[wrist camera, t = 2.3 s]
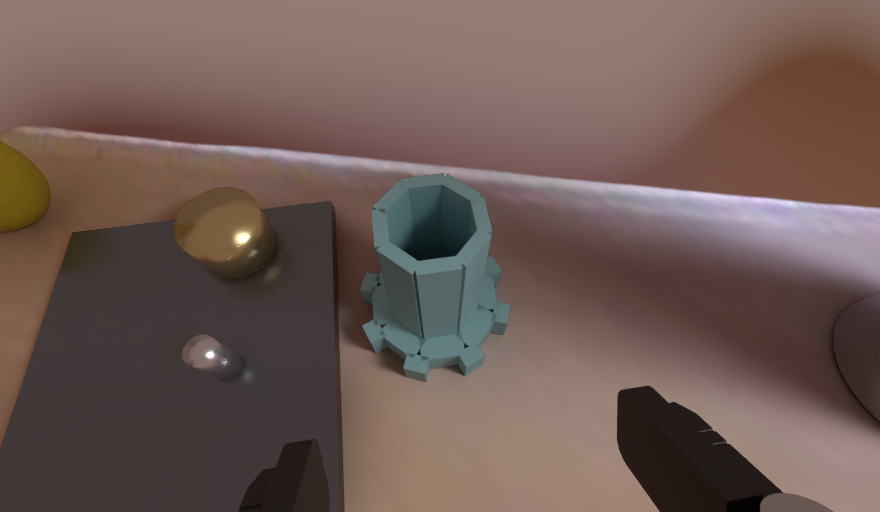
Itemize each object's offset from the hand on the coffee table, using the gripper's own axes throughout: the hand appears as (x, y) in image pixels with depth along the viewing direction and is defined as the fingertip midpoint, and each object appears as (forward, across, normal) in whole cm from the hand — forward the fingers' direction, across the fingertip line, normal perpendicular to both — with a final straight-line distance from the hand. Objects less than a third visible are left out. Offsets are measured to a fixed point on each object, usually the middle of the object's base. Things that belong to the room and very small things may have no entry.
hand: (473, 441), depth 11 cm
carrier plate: (+14, +14, +3) cm, 20 cm away
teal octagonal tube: (+15, 0, +3) cm, 15 cm away
